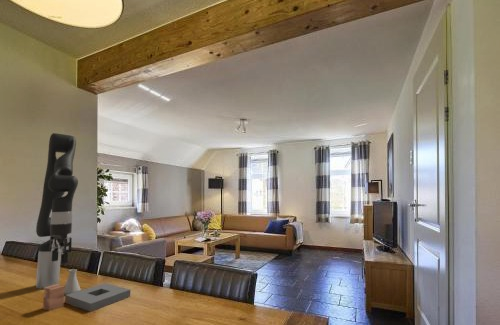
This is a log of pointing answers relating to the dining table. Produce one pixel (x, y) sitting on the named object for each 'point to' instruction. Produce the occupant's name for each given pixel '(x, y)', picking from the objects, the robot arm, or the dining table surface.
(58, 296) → the terracotta block
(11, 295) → the dining table surface
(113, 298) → the charcoal base
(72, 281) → the flask
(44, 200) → the robot arm
